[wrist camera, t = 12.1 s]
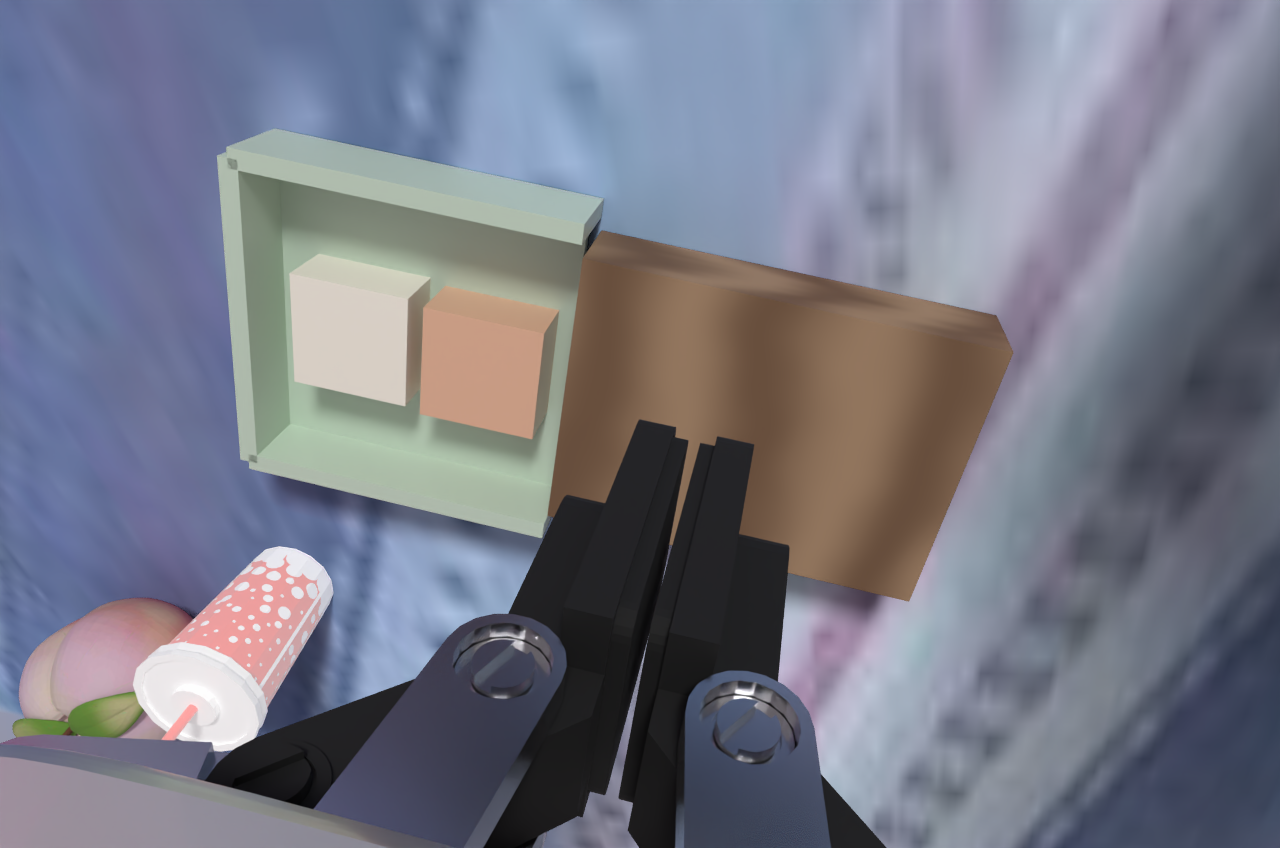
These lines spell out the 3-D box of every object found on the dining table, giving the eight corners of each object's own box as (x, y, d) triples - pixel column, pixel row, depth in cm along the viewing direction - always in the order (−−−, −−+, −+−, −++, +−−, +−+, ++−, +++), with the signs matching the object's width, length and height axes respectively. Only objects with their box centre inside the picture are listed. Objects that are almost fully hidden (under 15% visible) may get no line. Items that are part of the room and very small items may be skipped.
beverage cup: (223, 535, 48) (26, 741, 36) (326, 533, 47) (158, 746, 35) (262, 624, 51) (92, 842, 39) (360, 624, 50) (215, 849, 37)
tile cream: (289, 273, 36) (318, 253, 38) (294, 381, 39) (321, 357, 41) (407, 298, 36) (430, 277, 38) (405, 406, 38) (426, 380, 40)
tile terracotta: (559, 309, 38) (544, 333, 36) (547, 411, 40) (532, 439, 38) (445, 285, 38) (423, 307, 36) (440, 388, 41) (419, 413, 38)
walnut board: (996, 315, 35) (1013, 352, 32) (901, 551, 41) (908, 601, 38) (601, 230, 36) (582, 258, 33) (566, 473, 42) (547, 515, 39)
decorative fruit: (181, 690, 55) (64, 833, 46) (81, 595, 52) (-64, 728, 44) (283, 640, 51) (176, 786, 43) (180, 536, 49) (44, 668, 40)
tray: (603, 198, 36) (584, 224, 33) (561, 495, 43) (542, 538, 40) (265, 126, 36) (216, 144, 33) (280, 429, 44) (241, 466, 41)
